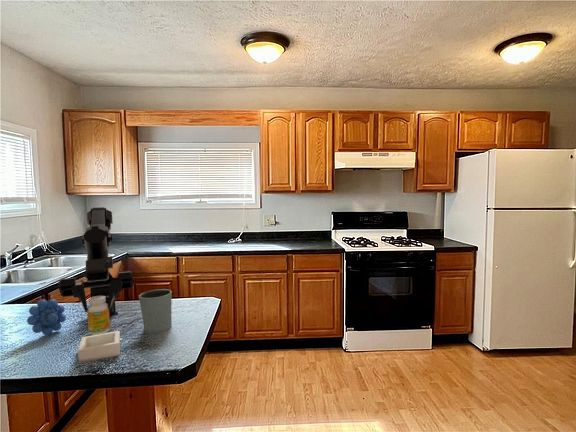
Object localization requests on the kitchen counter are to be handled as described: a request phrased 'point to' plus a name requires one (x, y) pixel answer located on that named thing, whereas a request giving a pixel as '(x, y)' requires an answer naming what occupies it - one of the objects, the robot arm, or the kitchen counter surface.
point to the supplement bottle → (98, 315)
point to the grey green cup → (156, 310)
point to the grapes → (46, 316)
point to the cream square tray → (99, 346)
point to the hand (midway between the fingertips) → (97, 309)
